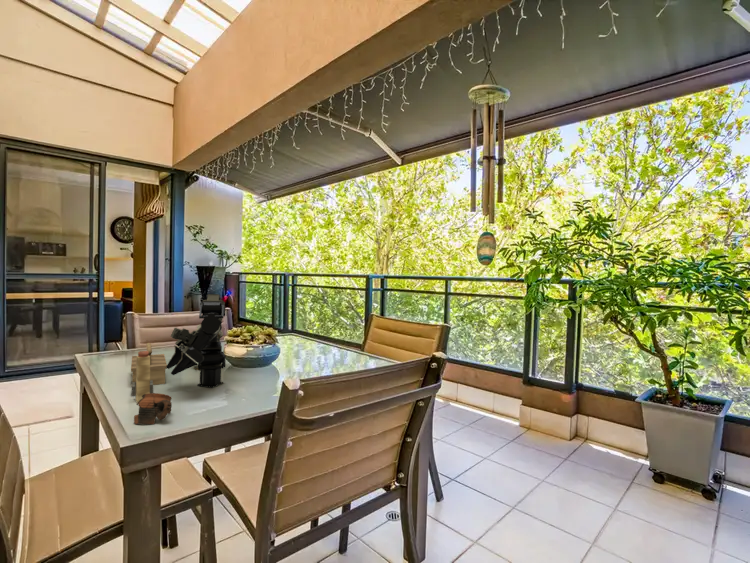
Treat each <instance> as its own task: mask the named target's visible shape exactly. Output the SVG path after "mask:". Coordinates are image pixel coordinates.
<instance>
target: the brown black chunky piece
mask: <svg viewBox="0 0 750 563" xmlns="http://www.w3.org/2000/svg"><path fill="white" fill-rule="evenodd" d="M142 397H143V398H142V399H141V400H140V401H139V402H138V403H137V402H136V405H137V406H138V413H137V414H136V415H134V417H133V424H134V423H135V425H137V424H138V425H139V424H141V425H155V422H156V419H157V420H159V421H162V420H165V419H166V417H167V415H169V414H170V413H171V412H172V402H171V401H172V396H170V395H168V394H166V393H165V394H164V393H157V392H156V393H154V392H153V393H150V394H144V395H143V396H142Z"/></svg>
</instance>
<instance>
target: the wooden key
mask: <svg viewBox="0 0 750 563" xmlns="http://www.w3.org/2000/svg"><path fill="white" fill-rule="evenodd" d="M136 356H137V361H136V396H135V402H136V404H137V403H138V402H139V401H140V400H141V399H142V398H143V397H142V396H143V395H144V394H150V356H149V351H147V350H141V351H138V353H137V355H136Z"/></svg>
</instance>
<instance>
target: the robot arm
mask: <svg viewBox="0 0 750 563" xmlns="http://www.w3.org/2000/svg"><path fill="white" fill-rule="evenodd" d="M198 314H199V315H198V316H199V317H198V319H199V320H200V319H202V321H201V323H200V325H201V327H200V328H199V329H198V330H197V329H196V330H197V331H196V330H193V331H192V332H190V330H189V329H186V328H182V329H181V328H178V327H174V328H173V330H172V332H171V334H170V337H171V339H174V340H177V341H176V342H174V344H175V345H174V346H173V347H174V353H173V355H172V356H171V358H170V359H169V361H168V363H166V364H167V366H166V368H167V370H169V369H172V368H173V367H174V368H173V369H172V370H171V372H170V374H171V375H172V376H175V375H177V374H180V373H181V372H183V371H186V370H188V369H190V368H192V367H193V368H194V367H195V366H197V365H198V370H197V371H199V383H197V385H196V386H197V387H202V388H210V389H213V388H216V387H218V386H220V385H222V384H224V381H222V370H224V368H226V362H227V361H226V360H227V357H226V354H225V352H224V351H222V350H223V347H222V342H221V340H220V341H218V333H219V332H220V331H222V328H223V327H222V326H223V325H222V323H223V322H222V321H223V319H224V317H226V306H225V301H224V300H223V299H222V298H221V294H219V293H216V294H215V293H209V294H206V299H204V300H202V302H201V303H199V312H198Z"/></svg>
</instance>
